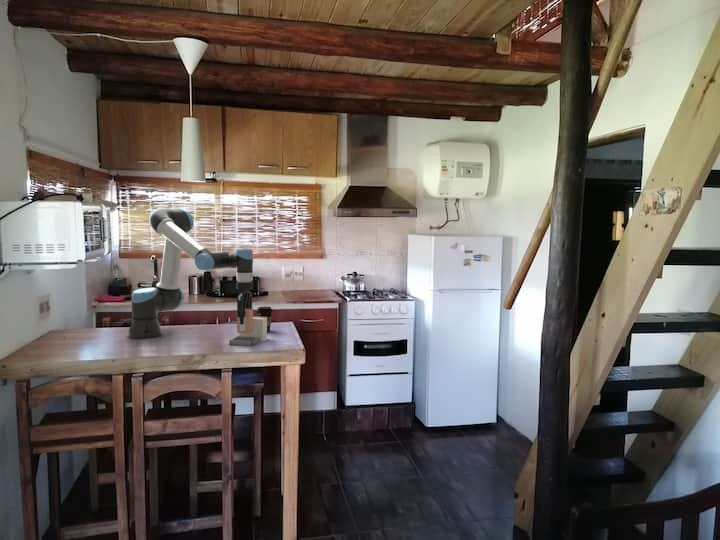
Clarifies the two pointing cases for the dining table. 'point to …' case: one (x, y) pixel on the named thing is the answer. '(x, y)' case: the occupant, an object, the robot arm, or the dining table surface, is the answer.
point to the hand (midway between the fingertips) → (244, 329)
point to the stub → (248, 322)
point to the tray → (244, 341)
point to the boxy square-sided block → (258, 328)
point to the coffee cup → (265, 315)
